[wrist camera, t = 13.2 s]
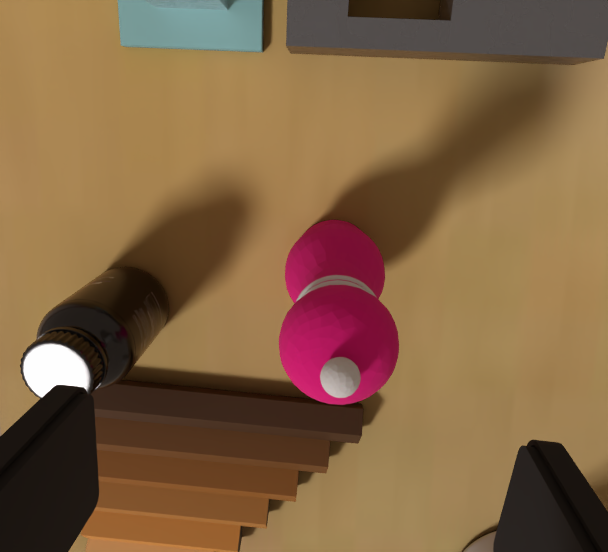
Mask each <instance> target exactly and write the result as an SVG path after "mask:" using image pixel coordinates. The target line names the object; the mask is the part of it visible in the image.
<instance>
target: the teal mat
mask: <svg viewBox="0 0 608 552" xmlns="http://www.w3.org/2000/svg"><path fill="white" fill-rule="evenodd" d="M263 6H264V0H228V10H209V9H180V8H156V7H154V6H153V5H151V4H150V3H148V2H147V1H145V0H118V10H119V25H120V39H121V45H122V46H125V47H143V48H168V49H193V50H218V51H243V52H263Z"/></svg>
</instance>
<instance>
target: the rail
mask: <svg viewBox="0 0 608 552" xmlns="http://www.w3.org/2000/svg"><path fill="white" fill-rule="evenodd" d="M348 5H349V0H288V3H287V40H286V46H287V48H288V50H289V51H290V53H292V54H317V55H342V56H367V57H392V58H416V59H441V60H466V61H491V62H516V63H541V64H565V65H575V64H580V63H584V62H589V61H594V60H599V59H604V56H605V51H606V46H607V42H608V0H440V8H439V17H438V20H421V19H395V18H369V17H348Z"/></svg>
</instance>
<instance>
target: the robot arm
mask: <svg viewBox="0 0 608 552" xmlns="http://www.w3.org/2000/svg"><path fill="white" fill-rule="evenodd" d="M98 498H99V478H98V461H97V444H96V427H95V410H94V398H93V396H92V395H89V394H87V391H86V389H85V388H84V387H78V386H69V385H61V384H59V385H55V386H54V387H53V388H52V389H51V390H49V391H48V392H47V393H46V394H45V395H44V396H43V397H42V398H41V399H40V400H39V401H38V402H37V403H36V404H35V405H34V406H32V407H31V408H30V409H29V410H28V411H27V412H26V413H25V414H24V415H23V416H22V417H21V418H20V419H19V420H18V421H16V422H15V423H14V424H13V425H12V426H11V427H10V428H9V429H8V430H7V431H6V432H5V433H4V434H3V435H2V436H0V552H68V551H69V550H70V548H71V546H72V545H73V543H74V542H75V540H76V538H77V537H78V535H79V534H80V532H81V530H82V529H83V527H84V526H85V524H86V522H87V521H88V519H89V518H90V516H91V515H92V513H93V511H94V509H95V508H96V505H97V502H98ZM493 552H608V512H607V510H606V509H605V507H604V506H603V504H602V503H601V501H600V500H599V498H598V497H597V495H596V494H595V492H594V491H593V489H592V488H591V486H590V485H589V483H588V482H587V480H586V479H585V477H584V476H583V474H582V473H581V471H580V470H579V468H578V467H577V466H576V464H575V463H574V461H573V460H572V458H571V457H570V455H569V454H568V452H567V451H566V449H565V448H564V446H563V445H562V444H560V443H556V442H548V441H539V440H531V441H529V443H528V444H527V446H521V447H520V448H519V451H518V454H517V458H516V461H515V465H514V469H513V473H512V476H511V480H510V484H509V487H508V491H507V495H506V498H505V502H504V506H503V509H502V513H501V517H500V520H499V524H498V528H497V532H496V535H495V539H494V544H493Z"/></svg>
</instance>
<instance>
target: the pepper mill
mask: <svg viewBox="0 0 608 552" xmlns="http://www.w3.org/2000/svg"><path fill="white" fill-rule="evenodd" d="M285 280H286V286H287V290H288V292H289V295H290V297H291V299H292V300H293V302H294V303H295V304H294V305H293V306H292V308H291V309H290V310H289V311H288V313H287V315H286V317H285V319H284V321H283V323H282V327H281V332H280V336H279V350H280V357H281V361H282V365H283V367H284V369H285V371H286V373H287V375H288V376H289V378H290V379H291V381H292V382H293V384H294V385H295V386H296V387H298V388H299V389H300V390H301V391H302V392H303V393H305V394H306V395H308V396H309V397H311V398H313V399H315V400H318V401H320V402H324V403H328V404H338V405H344V404H351V403H355V402H358V401H362V400H364V399H366V398H368V397H370V396H371V395H372V394H374V393H375V392H377V391H378V390H379V389H380V388H381V387H382V386H383V385H384V384H385V383H386V382H387V381H388V379H389V378H390V376H391V375H392V373H393V371H394V368H395V365H396V362H397V359H398V353H399V340H398V331H397V328H396V325H395V322H394V320H393V318H392V316H391V314H390V312H389V311H388V309H387V308H386V307H385V306H384V305H383V304H382V303H381V302H380V301H379V300H378V298H379V297H380V295H381V293H382V290H383V287H384V281H385V271H384V263H383V258H382V256H381V253H380V251H379V249H378V247H377V246H376V244H375V243H374V242H373V241H372V240H371V239H370V238H369V237H368V236H367V235H366V234H365V233H363V232H362V231H361V230H360V229H359V228H358V227H356V226H355V225H353V224H351V223H349V222H346V221H341V220H327V221H322V222H319V223H317V224H315V225H313V226H312V227H310V228H309V229H308V230H307V231H306V232H305V233H304V234H303V235H302V237H301V238H300V239H299V240H298V241H297V242H296V243H295V244H294V246H293V247H292V249H291V251H290V253H289V255H288V258H287V262H286V267H285Z"/></svg>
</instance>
